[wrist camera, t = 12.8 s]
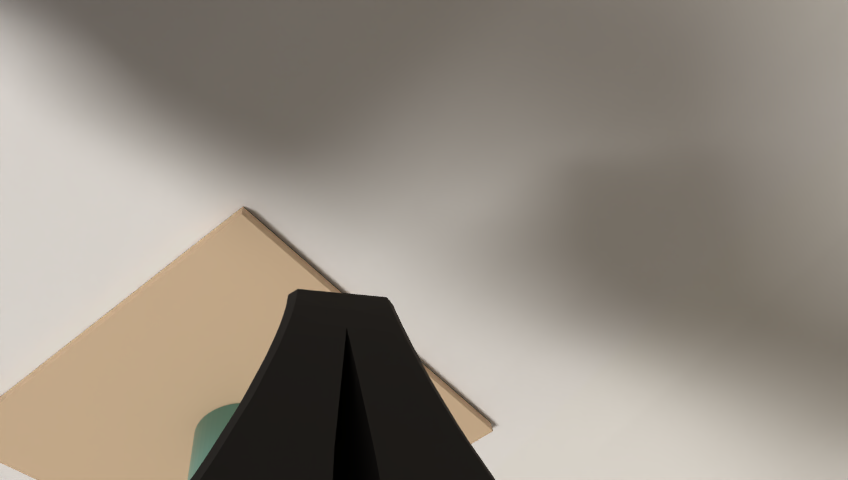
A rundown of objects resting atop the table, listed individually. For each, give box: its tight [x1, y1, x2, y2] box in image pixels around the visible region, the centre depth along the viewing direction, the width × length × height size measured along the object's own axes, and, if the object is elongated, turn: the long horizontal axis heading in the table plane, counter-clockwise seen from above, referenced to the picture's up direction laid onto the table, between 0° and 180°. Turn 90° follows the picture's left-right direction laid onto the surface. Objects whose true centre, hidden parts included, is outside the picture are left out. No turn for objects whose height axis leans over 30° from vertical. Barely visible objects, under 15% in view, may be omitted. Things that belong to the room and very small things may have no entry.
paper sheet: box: [0, 207, 493, 480], centre depth 23 cm, size 13×13×1 cm
